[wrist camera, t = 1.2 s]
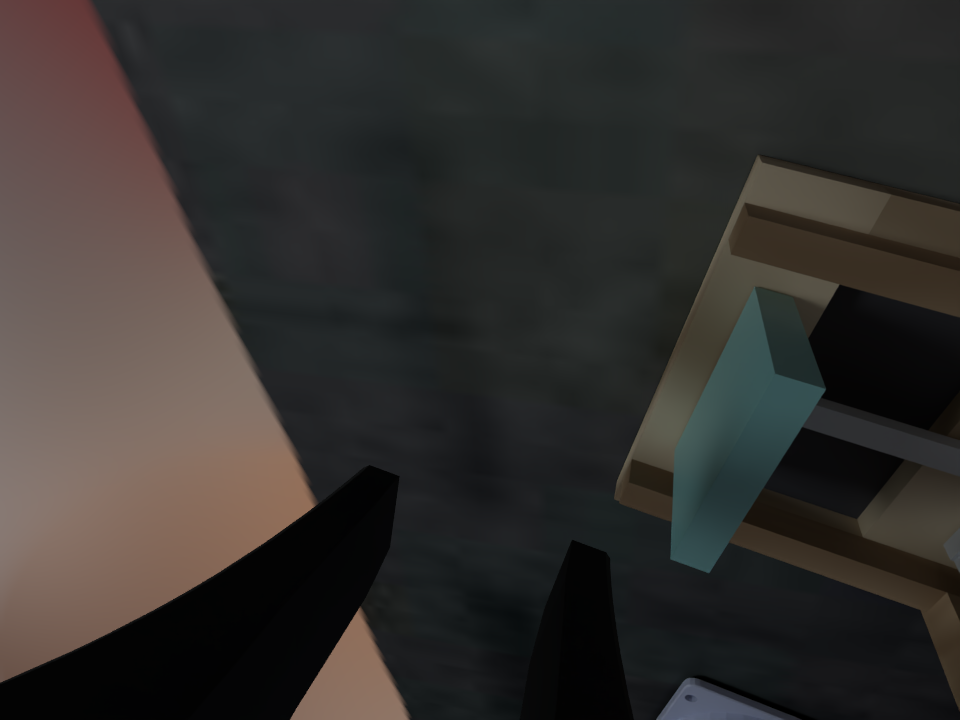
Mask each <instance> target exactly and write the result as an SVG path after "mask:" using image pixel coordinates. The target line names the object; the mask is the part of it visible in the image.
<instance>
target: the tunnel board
mask: <svg viewBox="0 0 960 720" xmlns="http://www.w3.org/2000/svg"><path fill="white" fill-rule="evenodd" d="M755 286H756V287H759V288H763V289H766V290H770V291H773V292H777V293H781V294H784V295H788V296H791V297H793V299H794V301H795V304H796V307H797V310H798V312H799V315H800V318H801V321H802V324H803V326H804V329H805V332H806V335H807V337H808V340H809V343H810V346H811V349H812V351H813V354H814V357H815V360H816V362H817V365H818V368H819V371H820V374H821V376H822V379H823V382H824V385H825V387H826V390H825V392H824V393H823V395H822V396H821V398H823V399H826V400H829V401H833V402H836V403H839V404H843V405H846V406H849V407H852V408H856V409H859V410H862V411H865V412H869V413H872V414H875V415H878V416H882V417H885V418H888V419H892V420H895V421H898V422H901V423H905V424H908V425H911V426H914V427H918V428H921V429H924V430H927V431H931V432H934V433H937V434H941V435H944V436H947V437H950V438H954V439H957V440H960V204H958V203H954V202H950V201H946V200H942V199H938V198H934V197H930V196H926V195H921V194H917V193H913V192H909V191H905V190H901V189H897V188H893V187H889V186H885V185H881V184H877V183H872V182H868V181H864V180H860V179H856V178H852V177H848V176H844V175H840V174H836V173H832V172H828V171H823V170H819V169H815V168H811V167H807V166H803V165H799V164H795V163H791V162H787V161H783V160H779V159H775V158H770V157H766V156H762V155H758V156H757V158H756V160H755V163H754V165H753V167H752V170H751V172H750V174H749V177H748V179H747V181H746V183H745V186H744V188H743V190H742V193H741V195H740V197H739V200H738V202H737V204H736V207H735V209H734V211H733V214H732V216H731V218H730V221H729V223H728V225H727V228H726V230H725V232H724V234H723V237H722V239H721V241H720V244H719V246H718V248H717V251H716V253H715V255H714V258H713V260H712V262H711V265H710V267H709V269H708V272H707V274H706V276H705V278H704V281H703V283H702V285H701V288H700V290H699V292H698V295H697V297H696V299H695V302H694V304H693V306H692V309H691V311H690V313H689V316H688V318H687V320H686V322H685V325H684V327H683V329H682V332H681V334H680V336H679V339H678V341H677V343H676V346H675V348H674V350H673V353H672V355H671V357H670V360H669V362H668V364H667V366H666V369H665V371H664V373H663V376H662V378H661V380H660V383H659V385H658V387H657V390H656V392H655V394H654V397H653V399H652V401H651V404H650V406H649V408H648V410H647V413H646V415H645V417H644V420H643V422H642V424H641V427H640V429H639V431H638V434H637V436H636V438H635V441H634V443H633V445H632V448H631V450H630V452H629V455H628V457H627V459H626V461H625V464H624V466H623V468H622V471H621V473H620V475H619V478H618V480H617V485H616V491H615V498H614V499H615V500H618V501H620V502H619V504H622V505H625V506H628V507H631V508H634V509H636V510H639V511H642V512H645V513H648V514H651V515H653V516H656V517H659V518H662V519H665V520H668V521H670V522H672V506H673V479H674V453H675V448H676V446H677V444H678V442H679V440H680V438H681V436H682V434H683V432H684V430H685V428H686V426H687V424H688V421H689V419H690V417H691V415H692V413H693V411H694V409H695V407H696V405H697V403H698V401H699V399H700V397H701V395H702V393H703V391H704V389H705V387H706V385H707V383H708V381H709V379H710V377H711V374H712V372H713V370H714V368H715V366H716V364H717V362H718V360H719V358H720V356H721V354H722V352H723V350H724V348H725V346H726V344H727V342H728V340H729V338H730V336H731V334H732V332H733V330H734V327H735V325H736V323H737V321H738V319H739V317H740V315H741V313H742V311H743V309H744V307H745V305H746V303H747V301H748V299H749V297H750V295H751V293H752V291H753V289H754V287H755ZM959 528H960V476H956V475H953V474H950V473H947V472H944V471H940V470H937V469H934V468H931V467H928V466H925V465H921V464H918V463H915V462H912V461H909V460H906V459H902V458H899V457H896V456H893V455H890V454H887V453H883V452H880V451H877V450H874V449H871V448H868V447H864V446H861V445H858V444H855V443H852V442H849V441H845V440H842V439H839V438H836V437H833V436H829V435H826V434H823V433H820V432H817V431H814V430H810V429H807V428H804V427H802V428H801V429H800V431H799V433H798V434H797V436H796V437H795V439H794V440H793V442H792V444H791V445H790V447H789V448H788V450H787V451H786V453H785V455H784V456H783V458H782V459H781V461H780V462H779V464H778V466H777V467H776V469H775V470H774V472H773V473H772V475H771V477H770V478H769V480H768V481H767V483H766V484H765V486H764V488H763V489H762V491H761V492H760V494H759V495H758V497H757V499H756V500H755V502H754V503H753V505H752V506H751V508H750V510H749V511H748V513H747V514H746V516H745V517H744V519H743V521H742V522H741V524H740V525H739V527H738V528H737V530H736V532H735V533H734V535H733V536H732V538H731V539H730V541H729V542H730V543H733V544H736V545H738V546H741V547H744V548H747V549H750V550H753V551H755V552H758V553H761V554H764V555H767V556H770V557H772V558H775V559H778V560H781V561H784V562H786V563H789V564H792V565H795V566H798V567H801V568H803V569H806V570H809V571H812V572H815V573H818V574H820V575H823V576H826V577H829V578H832V579H835V580H837V581H840V582H843V583H846V584H849V585H852V586H854V587H857V588H860V589H863V590H866V591H869V592H871V593H874V594H877V595H880V596H883V597H886V598H888V599H891V600H894V601H897V602H900V603H903V604H905V605H908V606H911V607H914V608H917V609H920V610H921V612H922V615H923V617H924V620H925V623H926V625H927V628H928V630H929V633H930V636H931V638H932V641H933V643H934V646H935V648H936V651H937V654H938V656H939V659H940V661H941V664H942V667H943V669H944V672H945V674H946V677H947V680H948V682H949V685H950V687H951V690H952V693H953V695H954V698H955V700H956V703H957V706H958V708H959V711H960V573H959V571H958V569H957V567H956V564H955V562H954V561H951V560H950V558H949V556H948V554H947V552H946V550H945V548H944V546H943V545H944V543H945V542H946V541H947V540H948V539H949V538H950V537H951V536H952V535H953V534H954V533H955V532H956V531H957V530H958V529H959Z"/></svg>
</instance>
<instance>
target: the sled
mask: <svg viewBox="0 0 960 720" xmlns="http://www.w3.org/2000/svg"><path fill="white" fill-rule="evenodd" d="M825 390H826V387H825V385H824V382H823V379H822V376H821V374H820V371H819V368H818V365H817V362H816V360H815V357H814V354H813V351H812V349H811V346H810V343H809V340H808V337H807V335H806V332H805V329H804V326H803V324H802V321H801V318H800V315H799V312H798V310H797V307H796V304H795V301H794V299H793V297H791V296H788V295H784V294H781V293H777V292H773V291H770V290H766V289H763V288H759V287H756V286H755V287H754V289H753V291H752V293H751V295H750V297H749V299H748V301H747V303H746V305H745V307H744V309H743V311H742V313H741V315H740V317H739V319H738V321H737V323H736V325H735V327H734V330H733V332H732V334H731V336H730V338H729V340H728V342H727V344H726V346H725V348H724V350H723V352H722V354H721V356H720V358H719V360H718V362H717V364H716V366H715V368H714V370H713V372H712V374H711V377H710V379H709V381H708V383H707V385H706V387H705V389H704V391H703V393H702V395H701V397H700V399H699V401H698V403H697V405H696V407H695V409H694V411H693V413H692V415H691V417H690V419H689V421H688V424H687V426H686V428H685V430H684V432H683V434H682V436H681V438H680V440H679V442H678V444H677V446H676V448H675V453H674V479H673V506H672V532H671V558H670V559H672V560H674V561H677V562H680V563H683V564H685V565H688V566H691V567H694V568H696V569H699V570H702V571H705V572H707V573H709V572H710V571H711V569H712V568H713V566H714V565H715V563H716V561H717V560H718V558H719V557H720V555H721V554H722V552H723V550H724V549H725V547H726V546H727V544H728V543H729V541H730V539H731V538H732V536H733V535H734V533H735V532H736V530H737V528H738V527H739V525H740V524H741V522H742V521H743V519H744V517H745V516H746V514H747V513H748V511H749V510H750V508H751V506H752V505H753V503H754V502H755V500H756V499H757V497H758V495H759V494H760V492H761V491H762V489H763V488H764V486H765V484H766V483H767V481H768V480H769V478H770V477H771V475H772V473H773V472H774V470H775V469H776V467H777V466H778V464H779V462H780V461H781V459H782V458H783V456H784V455H785V453H786V451H787V450H788V448H789V447H790V445H791V444H792V442H793V440H794V439H795V437H796V436H797V434H798V433H799V431H800V429H801V428H802V427H804V428H807V429H810V430H814V431H817V432H820V433H823V434H826V435H829V436H833V437H836V438H839V439H842V440H845V441H849V442H852V443H855V444H858V445H861V446H864V447H868V448H871V449H874V450H877V451H880V452H883V453H887V454H890V455H893V456H896V457H899V458H902V459H906V460H909V461H912V462H915V463H918V464H921V465H925V466H928V467H931V468H934V469H937V470H940V471H944V472H947V473H950V474H953V475H956V476H960V440H957V439H954V438H950V437H947V436H944V435H941V434H937V433H934V432H931V431H927V430H924V429H921V428H918V427H914V426H911V425H908V424H905V423H901V422H898V421H895V420H892V419H888V418H885V417H882V416H878V415H875V414H872V413H869V412H865V411H862V410H859V409H856V408H852V407H849V406H846V405H843V404H839V403H836V402H833V401H829V400H826V399H823V398H821V396H822V395H823V393H824V392H825ZM943 546H944V548H945V550H946V552H947V554H948V556H949V558H950V560H951V561H954V562H955V564H956V567H957V569H958V571H959V573H960V528H959V529H958V530H957V531H956V532H955V533H954V534H953V535H952V536H951V537H950V538H949V539H948V540H947V541H946V542H945V543H944V545H943Z"/></svg>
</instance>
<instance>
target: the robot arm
mask: <svg viewBox="0 0 960 720" xmlns="http://www.w3.org/2000/svg"><path fill="white" fill-rule="evenodd" d="M398 483H399V476H397V475H395V474H392V473H389V472H387V471H384V470H381V469H378V468H376V467H373V466H370V465H369V466H366V467H364V468H363V469H361V470H360V471H359V472H358V473H357V474H355V475H354V476H353V477H352V478H351V479H349V480H348V481H347V482H346V483H344V484H343V485H342V486H341V487H339V488H338V489H337V490H336V491H334V492H333V493H332V494H331V495H329V496H328V497H327V498H326V499H324V500H323V501H322V502H320V503H319V504H318V505H316V506H315V507H314V508H312V509H311V510H310V511H308V512H307V513H306V514H304V515H303V516H302V517H300V518H299V519H297V520H296V521H295V522H293V523H292V524H290V525H289V526H288V527H286V528H285V529H283V530H282V531H281V532H279V533H278V534H277V535H275V536H274V537H272V538H271V539H269V540H268V541H267V542H265V543H264V544H262V545H261V546H259V547H258V548H256V549H255V550H253V551H251V552H250V553H248V554H247V555H245V556H244V557H242V558H241V559H239V560H238V561H236V562H234V563H233V564H231V565H230V566H228V567H227V568H225V569H224V570H222V571H221V572H219V573H217V574H216V575H214V576H213V577H211V578H209V579H207V580H206V581H204V582H202V583H201V584H199V585H197V586H196V587H194V588H192V589H191V590H189V591H187V592H186V593H184V594H182V595H180V596H178V597H177V598H175V599H173V600H171V601H170V602H168V603H166V604H164V605H162V606H160V607H159V608H157V609H155V610H154V611H151V612H149V613H147V614H146V615H144V616H142V617H140V618H138V619H136V620H134V621H132V622H130V623H128V624H126V625H125V626H122V627H120V628H118V629H116V630H114V631H112V632H111V633H109V634H107V635H105V636H103V637H101V638H98V639H96V640H94V641H92V642H90V643H88V644H86V645H84V646H82V647H80V648H78V649H76V650H74V651H72V652H69V653H67V654H65V655H62V656H60V657H58V658H55V659H53V660H51V661H49V662H46V663H44V664H42V665H40V666H38V667H35V668H33V669H30V670H28V671H26V672H24V673H21V674H19V675H17V676H15V677H12V678H10V679H8V680H5V681H3V682H1V683H0V720H290V719H291V717H292V715H293V713H294V712H295V710H296V708H297V707H298V705H299V703H300V702H301V700H302V699H303V697H304V695H305V694H306V692H307V691H308V689H309V687H310V686H311V684H312V683H313V681H314V679H315V678H316V676H317V675H318V673H319V671H320V670H321V668H322V667H323V665H324V664H325V662H326V660H327V659H328V657H329V655H330V654H331V652H332V650H333V649H334V648H335V646H336V644H337V643H338V641H339V640H340V638H341V636H342V635H343V633H344V632H345V630H346V628H347V627H348V625H349V623H350V622H351V620H352V619H353V617H354V615H355V614H356V612H357V611H358V609H359V607H360V606H361V604H362V602H363V601H364V599H365V598H366V596H367V594H368V592H369V590H370V588H371V586H372V584H373V581H374V579H375V577H376V575H377V573H378V571H379V569H380V567H381V565H382V563H383V561H384V559H385V557H386V554H387V552H388V550H389V548H390V543H391V535H392V528H393V520H394V513H395V506H396V498H397V491H398ZM520 720H634V719H633V714H632V709H631V705H630V700H629V696H628V691H627V685H626V680H625V675H624V670H623V665H622V659H621V654H620V648H619V642H618V636H617V629H616V622H615V615H614V607H613V598H612V587H611V573H610V558H609V556H608V555H607V553H606V552H604V551H601V550H598V549H596V548H593V547H590V546H587V545H585V544H582V543H579V542H577V541H574V540H572V541H571V544H570V546H569V549H568V551H567V554H566V556H565V559H564V561H563V564H562V566H561V569H560V571H559V574H558V576H557V579H556V581H555V584H554V586H553V589H552V591H551V594H550V596H549V598H548V601H547V603H546V606H545V609H544V612H543V616H542V620H541V623H540V627H539V631H538V634H537V638H536V642H535V645H534V649H533V653H532V656H531V660H530V664H529V670H528V675H527V681H526V687H525V692H524V698H523V704H522V710H521V716H520ZM656 720H802V719H799V718H797V717H794V716H792V715H789V714H787V713H784V712H782V711H779V710H776V709H774V708H771V707H769V706H766V705H764V704H761V703H759V702H756V701H754V700H751V699H749V698H746V697H743V696H741V695H738V694H736V693H733V692H731V691H728V690H726V689H723V688H721V687H718V686H716V685H713V684H710V683H708V682H705V681H703V680H700V679H697V678H687V679H686V680H684V681H683V683H682V684H681V686H680V687H679V688H678V690H677V691H676V693H675V694H674V695H673V697H672V698H671V700H670V701H669V702H668V704H667V705H666V707H665V708H664V709H663V711H662V712H661V714H660V715H659V716H658V718H657V719H656Z"/></svg>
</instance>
